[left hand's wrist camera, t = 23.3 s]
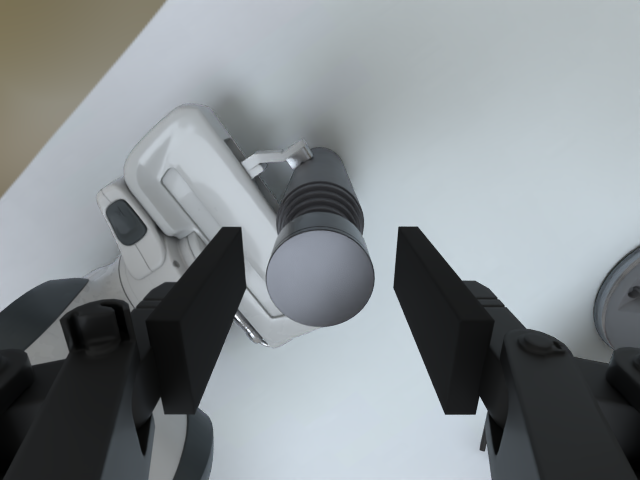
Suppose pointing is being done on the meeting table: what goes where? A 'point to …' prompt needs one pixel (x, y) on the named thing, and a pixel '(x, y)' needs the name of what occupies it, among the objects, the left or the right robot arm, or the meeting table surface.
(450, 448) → the meeting table surface
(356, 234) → the cap
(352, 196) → the bottle
